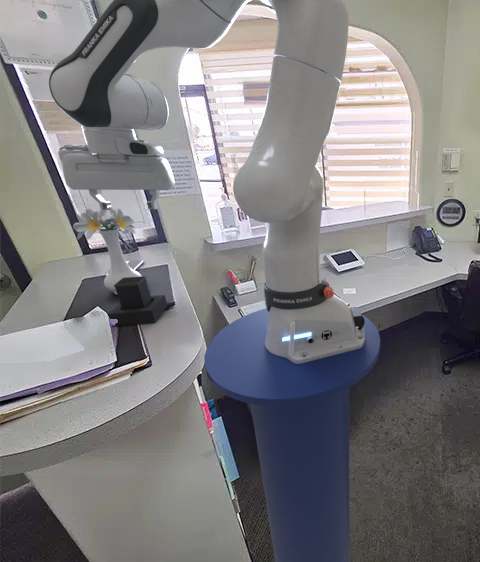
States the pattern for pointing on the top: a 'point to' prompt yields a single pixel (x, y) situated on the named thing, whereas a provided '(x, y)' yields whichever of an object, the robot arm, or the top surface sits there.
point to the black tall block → (133, 293)
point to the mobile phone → (132, 264)
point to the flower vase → (109, 240)
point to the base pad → (139, 312)
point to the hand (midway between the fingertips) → (130, 209)
